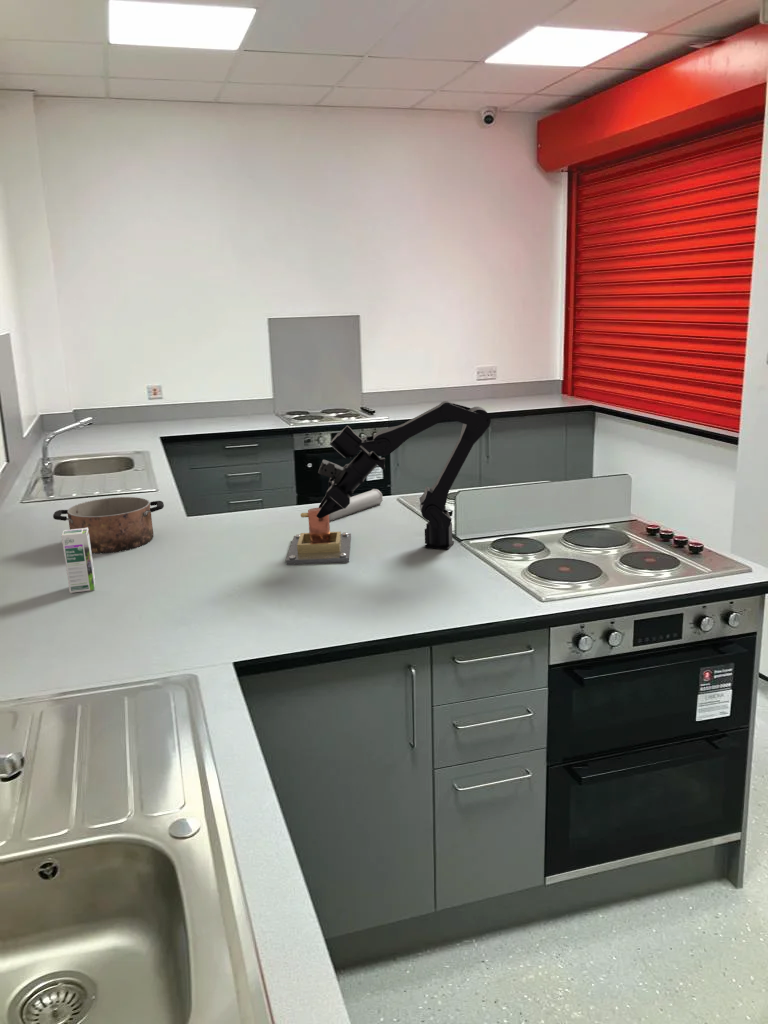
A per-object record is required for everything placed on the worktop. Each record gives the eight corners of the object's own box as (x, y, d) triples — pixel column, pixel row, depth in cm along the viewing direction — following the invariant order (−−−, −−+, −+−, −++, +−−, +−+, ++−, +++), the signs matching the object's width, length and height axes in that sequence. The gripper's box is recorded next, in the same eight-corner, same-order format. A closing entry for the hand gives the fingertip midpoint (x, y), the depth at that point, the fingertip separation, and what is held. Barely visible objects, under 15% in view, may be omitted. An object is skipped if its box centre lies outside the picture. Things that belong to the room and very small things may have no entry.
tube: (331, 511, 246) (384, 493, 264) (319, 503, 248) (372, 486, 267) (328, 526, 248) (381, 507, 267) (316, 518, 251) (368, 500, 269)
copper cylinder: (331, 542, 223) (329, 507, 220) (330, 548, 217) (328, 512, 215) (303, 543, 223) (301, 508, 220) (301, 550, 217) (299, 513, 215)
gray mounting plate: (351, 537, 231) (350, 525, 230) (349, 562, 210) (348, 549, 209) (294, 539, 231) (293, 527, 230) (286, 564, 210) (285, 551, 209)
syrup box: (69, 594, 195) (60, 535, 191) (71, 585, 200) (63, 528, 196) (94, 590, 196) (86, 532, 192) (96, 583, 201) (88, 526, 198)
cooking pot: (53, 559, 222) (47, 521, 219) (62, 537, 243) (57, 502, 240) (167, 547, 229) (163, 510, 226) (167, 527, 250) (163, 492, 247)
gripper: (336, 443, 222) (298, 484, 225) (333, 456, 204) (292, 501, 207) (367, 470, 224) (329, 511, 227) (366, 485, 206) (325, 529, 209)
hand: (318, 512), depth 218 cm, fingers open, 9 cm apart
